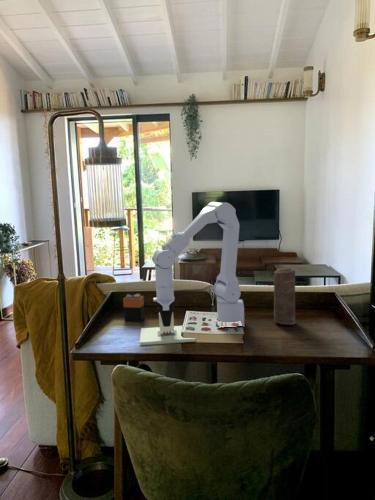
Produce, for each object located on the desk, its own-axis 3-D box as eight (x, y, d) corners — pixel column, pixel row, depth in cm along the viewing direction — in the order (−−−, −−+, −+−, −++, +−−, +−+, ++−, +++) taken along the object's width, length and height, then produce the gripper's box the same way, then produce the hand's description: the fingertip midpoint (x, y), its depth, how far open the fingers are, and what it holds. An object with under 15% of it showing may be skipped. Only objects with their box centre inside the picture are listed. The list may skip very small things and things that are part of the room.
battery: (141, 322, 145) (139, 296, 143) (124, 321, 147) (122, 296, 145) (145, 318, 149) (143, 293, 148) (128, 317, 151) (126, 292, 149)
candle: (286, 329, 133) (286, 272, 129) (269, 323, 139) (269, 269, 135) (299, 323, 138) (300, 268, 134) (282, 318, 143) (282, 265, 140)
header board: (192, 327, 138) (191, 318, 137) (195, 341, 126) (194, 330, 125) (141, 331, 137) (140, 321, 136) (139, 345, 125) (139, 334, 124)
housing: (173, 327, 133) (172, 310, 132) (174, 330, 129) (173, 313, 128) (159, 328, 132) (158, 311, 131) (159, 331, 129) (158, 314, 128)
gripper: (152, 280, 135) (154, 317, 137) (152, 292, 121) (154, 333, 123) (172, 279, 135) (174, 316, 138) (174, 290, 121) (176, 331, 124)
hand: (166, 324), depth 130 cm, fingers closed on housing, 3 cm apart
